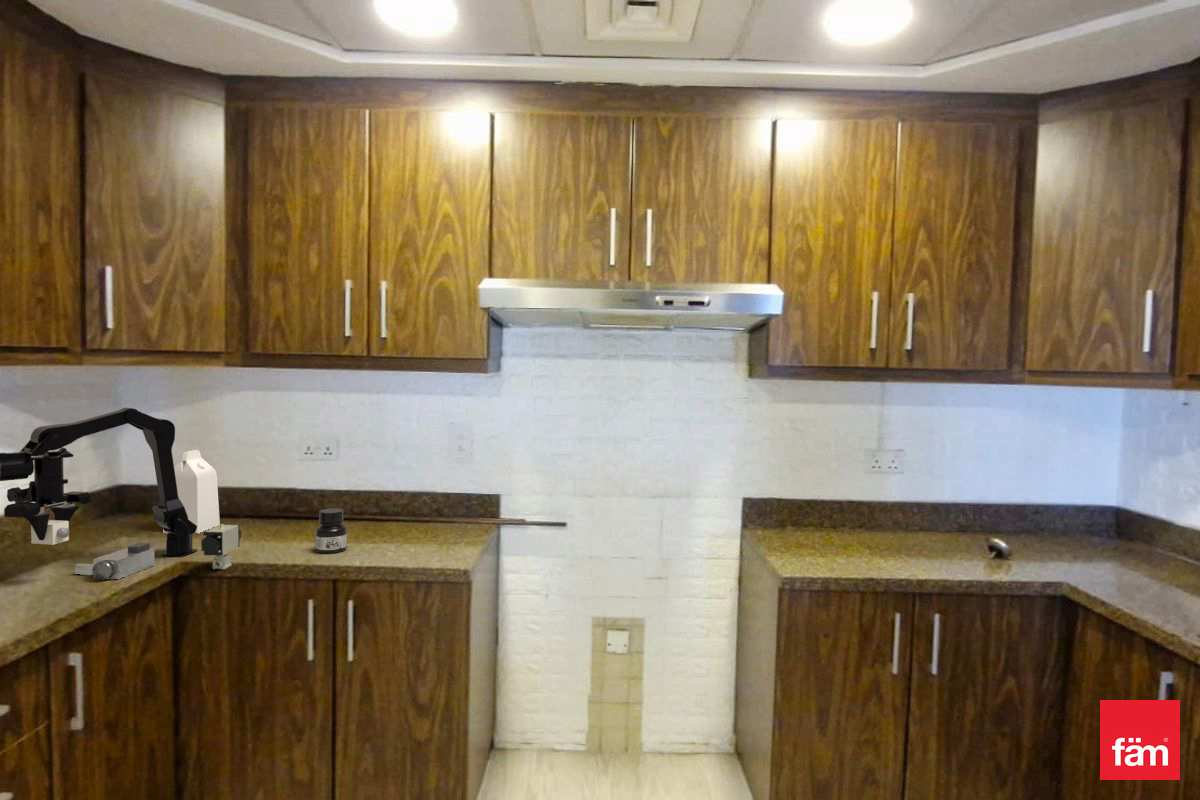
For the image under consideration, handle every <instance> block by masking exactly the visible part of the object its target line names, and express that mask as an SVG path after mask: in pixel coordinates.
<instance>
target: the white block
mask: <svg viewBox="0 0 1200 800" xmlns="http://www.w3.org/2000/svg"><path fill="white" fill-rule="evenodd" d="M69 523H70V521H69V522H68V521H62V520H55V519H49V520H48V525H47V531H46V535H45V538H44V540H39V539H38V537H37V535H36V533H35V531H34V529H33V527H32V525H31V524H30V529H31V530H30V533H31V535H30V537H31V538H30V540H31V544H36V545H50V546H51V545H52V546H53V545H56V544H60V543H63V542H68V541H70V537H69V535H70V529H69V527H70V525H69Z"/></svg>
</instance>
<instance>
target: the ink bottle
mask: <svg viewBox="0 0 1200 800" xmlns="http://www.w3.org/2000/svg"><path fill="white" fill-rule="evenodd" d="M318 521H319V522H318V523H319V525H318V526H317V528H316V529H315V531H314V532H315V534H314V535H315V542H314V545H315V547H314V548H315V551H316V552H317V553H320V554H335V553H336V554H337V553H341V552H344V551H346V549H348V527H347V526H346V525H345V524H344V509H343V508H336V507H335V508H334V507H333V508H324V509H320V510H319V511H318Z"/></svg>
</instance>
